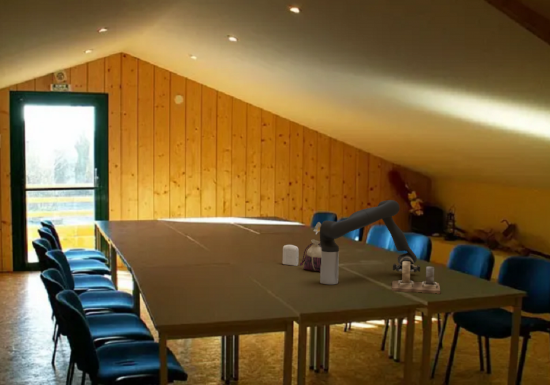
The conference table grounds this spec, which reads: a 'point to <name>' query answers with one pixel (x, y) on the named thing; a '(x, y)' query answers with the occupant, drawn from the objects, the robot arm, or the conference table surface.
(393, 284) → the pin board
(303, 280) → the conference table surface
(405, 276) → the maple pin
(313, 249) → the pouch
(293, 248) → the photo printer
